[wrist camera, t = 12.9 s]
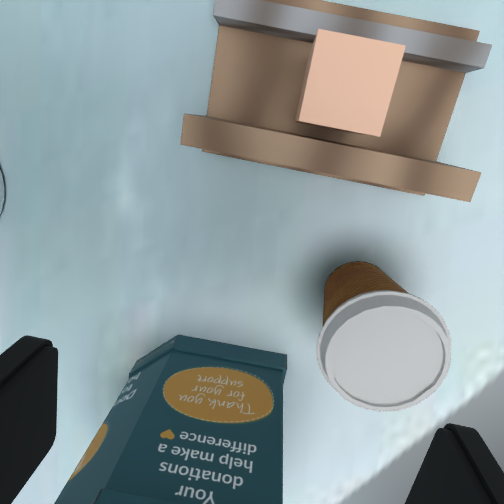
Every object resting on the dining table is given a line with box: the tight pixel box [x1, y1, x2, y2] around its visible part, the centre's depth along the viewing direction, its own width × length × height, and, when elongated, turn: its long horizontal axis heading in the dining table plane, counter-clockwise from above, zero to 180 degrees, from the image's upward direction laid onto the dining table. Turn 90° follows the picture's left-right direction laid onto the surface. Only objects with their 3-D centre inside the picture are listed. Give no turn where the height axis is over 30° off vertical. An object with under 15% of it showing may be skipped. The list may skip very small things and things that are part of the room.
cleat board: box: [180, 0, 492, 202], centre depth 29 cm, size 20×13×9 cm, turn 79°
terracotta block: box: [294, 29, 406, 137], centre depth 27 cm, size 5×5×10 cm
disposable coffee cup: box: [317, 261, 451, 411], centre depth 33 cm, size 10×10×12 cm
